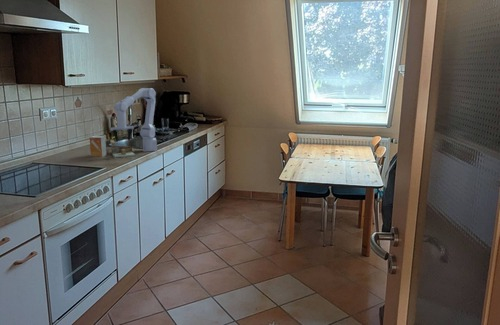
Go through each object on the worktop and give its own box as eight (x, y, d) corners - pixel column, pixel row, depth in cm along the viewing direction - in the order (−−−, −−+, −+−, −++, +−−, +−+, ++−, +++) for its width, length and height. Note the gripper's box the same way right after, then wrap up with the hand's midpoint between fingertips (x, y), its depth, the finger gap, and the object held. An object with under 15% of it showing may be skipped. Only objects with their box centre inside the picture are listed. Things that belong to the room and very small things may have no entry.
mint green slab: (132, 153, 282) (132, 147, 281) (134, 155, 275) (134, 149, 274) (112, 155, 276) (112, 149, 275) (114, 157, 269) (114, 151, 268)
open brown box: (130, 150, 292) (130, 144, 291) (132, 153, 282) (132, 147, 281) (111, 152, 287) (111, 145, 286) (113, 155, 277) (112, 148, 276)
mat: (133, 153, 282) (133, 153, 282) (135, 156, 274) (135, 155, 274) (112, 155, 277) (112, 154, 277) (113, 158, 269) (113, 157, 269)
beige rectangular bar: (113, 142, 299) (113, 139, 299) (115, 144, 288) (115, 142, 288) (110, 142, 298) (110, 140, 298) (112, 145, 288) (112, 142, 287)
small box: (90, 156, 273) (89, 137, 270) (95, 154, 280) (93, 135, 277) (102, 156, 272) (100, 137, 270) (106, 154, 279) (105, 135, 276)
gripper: (131, 119, 277) (132, 139, 280) (109, 120, 270) (110, 140, 273) (133, 120, 271) (135, 140, 274) (110, 121, 264) (112, 142, 267)
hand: (123, 140), depth 273 cm, fingers open, 7 cm apart
